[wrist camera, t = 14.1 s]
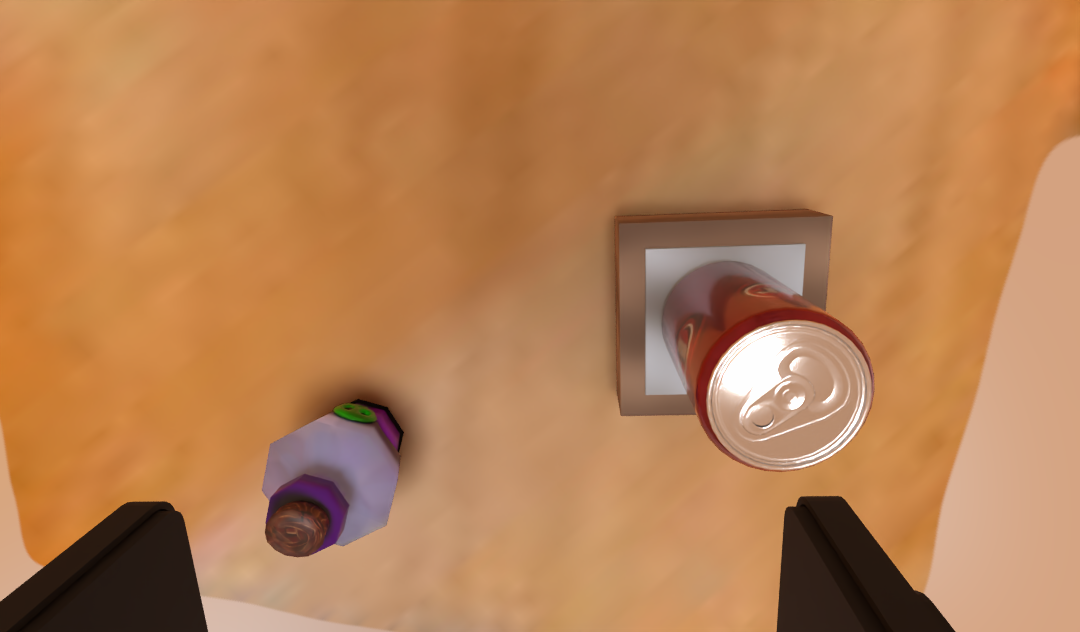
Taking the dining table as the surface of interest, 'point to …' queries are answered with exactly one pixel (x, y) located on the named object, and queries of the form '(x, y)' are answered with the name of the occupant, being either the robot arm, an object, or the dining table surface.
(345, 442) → the potion bottle
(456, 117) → the dining table surface
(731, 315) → the soda can
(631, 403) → the pedestal
